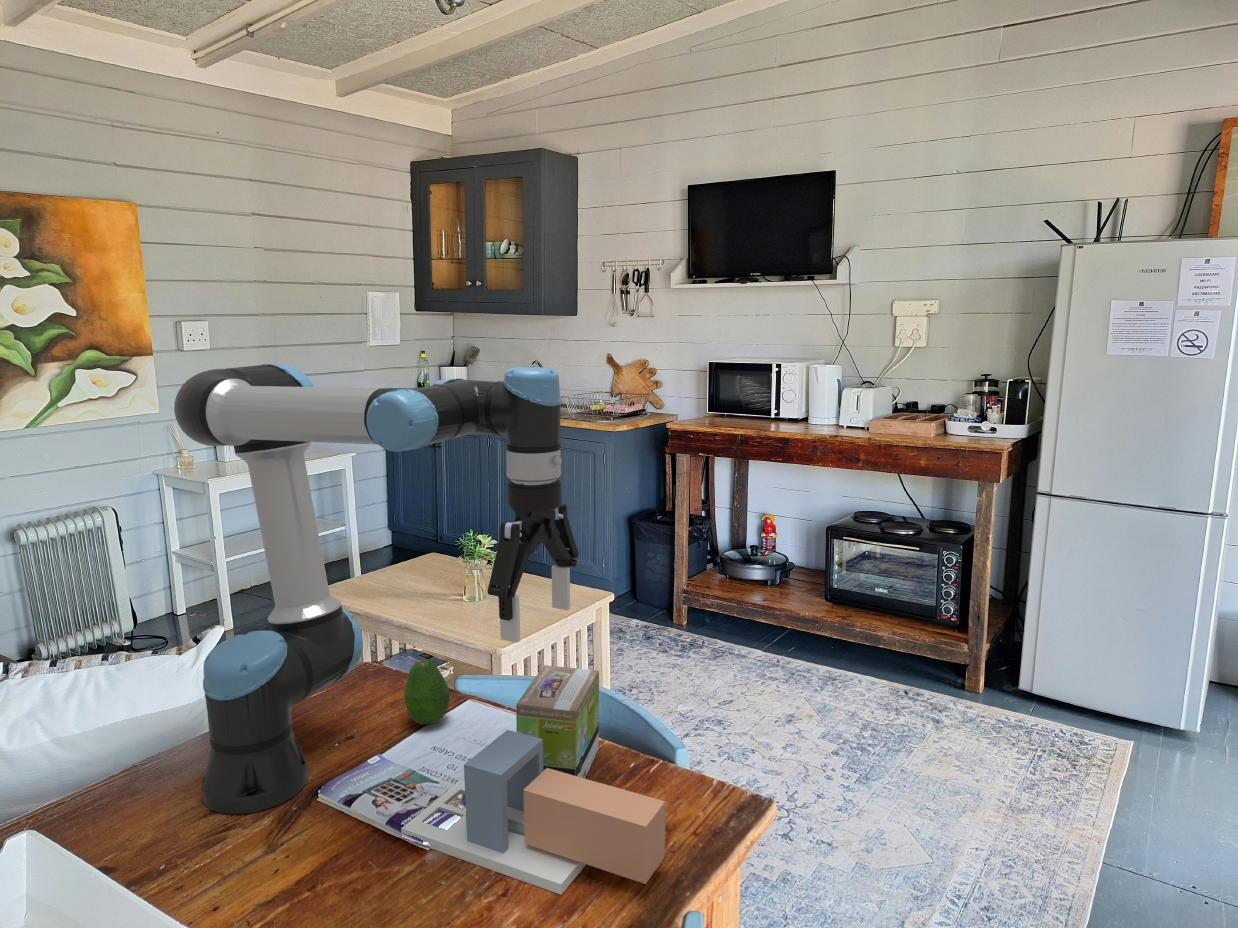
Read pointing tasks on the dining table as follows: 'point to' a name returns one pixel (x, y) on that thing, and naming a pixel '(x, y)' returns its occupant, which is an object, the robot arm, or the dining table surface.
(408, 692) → the avocado
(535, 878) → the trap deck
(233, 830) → the dining table surface
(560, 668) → the tea box
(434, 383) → the robot arm
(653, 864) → the terracotta clay brick
